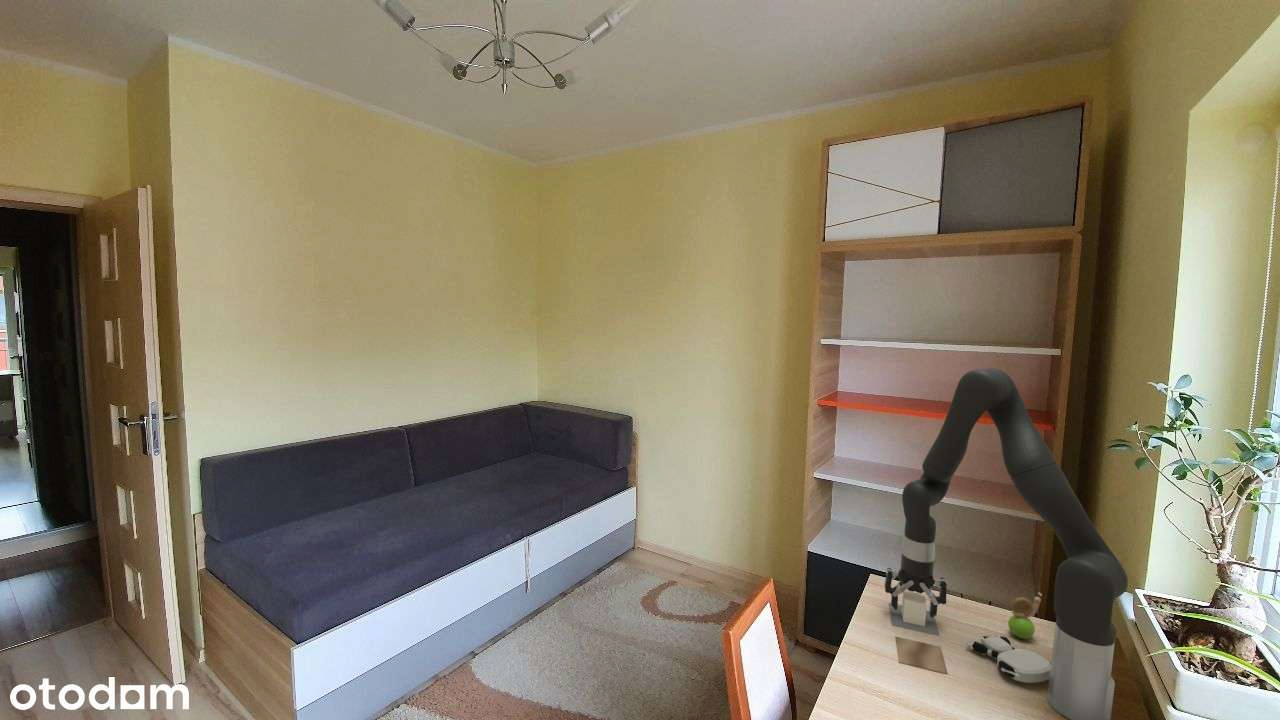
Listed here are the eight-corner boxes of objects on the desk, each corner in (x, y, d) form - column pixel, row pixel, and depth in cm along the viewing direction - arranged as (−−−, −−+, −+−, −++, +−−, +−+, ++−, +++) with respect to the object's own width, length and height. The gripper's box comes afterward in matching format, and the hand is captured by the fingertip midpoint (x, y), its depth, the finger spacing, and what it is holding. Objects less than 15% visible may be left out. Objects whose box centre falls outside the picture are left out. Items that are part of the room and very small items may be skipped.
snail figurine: (1042, 645, 128) (1048, 599, 127) (1014, 642, 129) (1019, 596, 128) (1030, 631, 134) (1034, 587, 132) (1002, 628, 135) (1007, 584, 133)
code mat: (933, 613, 141) (933, 611, 141) (939, 637, 131) (939, 636, 131) (888, 603, 145) (888, 602, 145) (891, 626, 135) (891, 625, 135)
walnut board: (940, 647, 127) (940, 646, 127) (947, 674, 118) (947, 673, 117) (895, 637, 130) (895, 636, 130) (898, 662, 121) (898, 661, 121)
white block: (922, 615, 139) (924, 594, 138) (924, 626, 135) (926, 604, 134) (901, 611, 141) (903, 590, 140) (903, 621, 136) (905, 600, 136)
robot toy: (961, 653, 126) (1020, 694, 112) (961, 635, 126) (1020, 674, 112) (1001, 645, 129) (1064, 684, 115) (1001, 628, 129) (1064, 664, 115)
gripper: (946, 552, 137) (941, 610, 139) (887, 542, 142) (882, 598, 144) (951, 566, 130) (946, 626, 132) (888, 555, 135) (884, 613, 137)
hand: (913, 611), depth 138 cm, fingers open, 8 cm apart
